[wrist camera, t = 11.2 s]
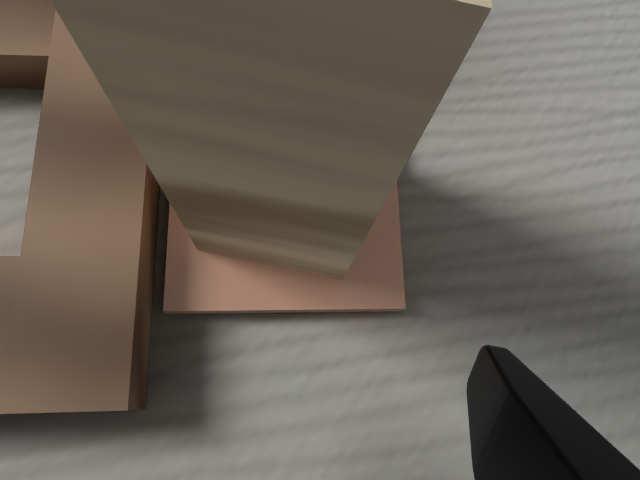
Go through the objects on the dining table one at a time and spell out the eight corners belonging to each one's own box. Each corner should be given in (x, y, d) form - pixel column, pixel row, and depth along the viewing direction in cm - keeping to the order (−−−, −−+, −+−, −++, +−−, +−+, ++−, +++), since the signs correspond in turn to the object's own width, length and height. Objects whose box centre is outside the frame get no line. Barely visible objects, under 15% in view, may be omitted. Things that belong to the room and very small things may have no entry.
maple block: (342, 279, 18) (491, 7, 5) (197, 249, 18) (-9, -100, 5) (367, 148, 19) (529, -314, 7) (233, 120, 19) (140, -400, 6)
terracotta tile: (401, 311, 18) (406, 308, 17) (167, 313, 17) (162, 311, 17) (388, 106, 20) (391, 98, 20) (179, 102, 20) (176, 93, 19)
